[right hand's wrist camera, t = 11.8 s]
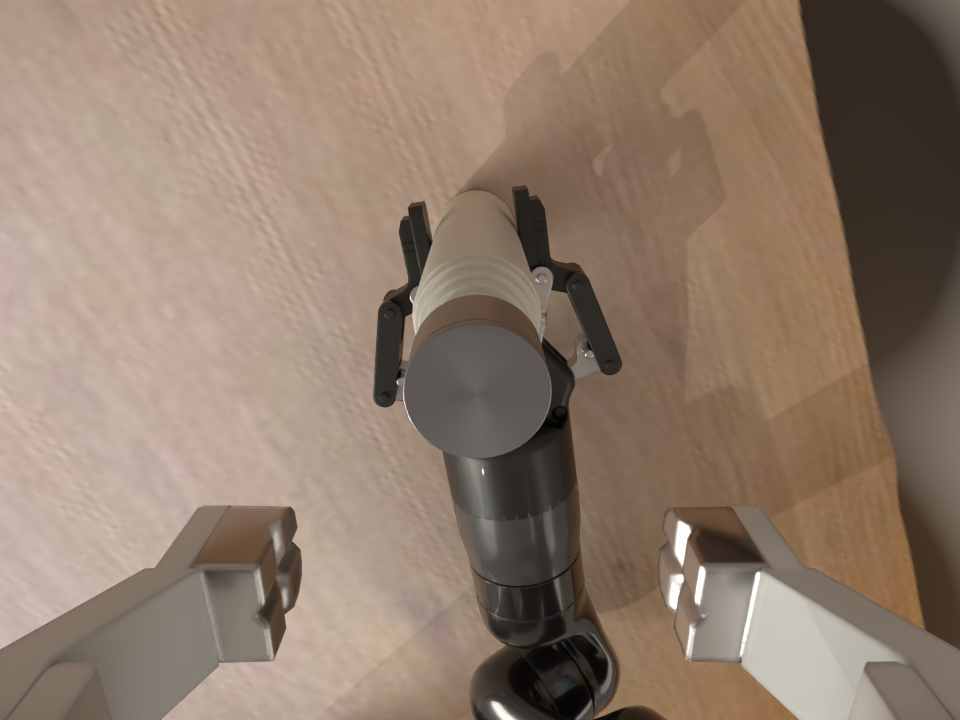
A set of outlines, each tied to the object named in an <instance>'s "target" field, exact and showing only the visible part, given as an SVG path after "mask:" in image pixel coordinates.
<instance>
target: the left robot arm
mask: <svg viewBox="0 0 960 720" xmlns="http://www.w3.org/2000/svg"><path fill="white" fill-rule="evenodd" d="M512 192H513V200H514V208H515V215H516V223H517V230H518V235H519V238H520V241H521V244H522V248H523V251H524V254H525V257H526V260H527V263H528V266H529V269H530V272H531V275H532V278H533V281H534V284H535V287H536V290H537V293H538V296H539V300H540V304H541V325H540V330H539V338H540V341H541V345H542V349H543V352H544V356H545V360H546V363H547V367H548V371H549V374H550V378H551V385H552V398H551V404H550V408H549V411H548V414H547V416H546V418H545V420H544V422H543V424H542V425H541V427H540V428H539V429H538V431H537V432H536V433H535V434H534V435H533V436H532V437H531V438H530V439H529V440H528V441H527V442H525V443H524V444H523V445H521V446H520V447H518V448H516V449H514V450H512V451H511V452H508V453H505V454H503V455H499V456H495V457H490V458H479V459H473V458H464V457H459V456H455V455H452V454H449V453H446V452H444V451H443V456H444V461H445V466H446V471H447V475H448V480H449V485H450V490H451V495H452V500H453V504H454V509H455V514H456V518H457V523H458V528H459V532H460V535H461V538H462V541H463V543H464V546H465V548H466V551H467V554H468V557H469V562H470V567H471V572H472V577H473V581H474V586H475V591H476V595H477V601H478V605H479V609H480V613H481V616H482V619H483V621H484V623H485V625H486V627H487V629H488V630H489V632H490V633H491V634H492V635H493V636H494V637H495V638H496V639H497V640H499V641H500V642H502V643H504V644H506V646H504V647H503V648H501V649H500V650H498V651H497V652H495V653H494V654H492V655H491V656H490V657H488V658H487V659H486V660H485V661H483V662H482V663H481V664H480V665H479V666H478V668H477V669H476V671H475V672H474V674H473V677H472V680H471V684H470V693H469V695H470V706H471V710H472V714H473V717H474V720H592V719H593V720H667V719H666V718H664V717H663V716H662V715H660V714H659V713H657V712H656V711H654V710H653V709H651V708H648V707H646V706H641V705H633V706H629V707H625V708H622V709H619V710H616V711H614V712H612V713H609V714H607V715H605V716H602V717H600V718H596V719H594V718H595V717H596V716H597V715H599V714H600V713H601V712H602V711H603V710H604V709H606V708H607V707H608V705H609V704H610V703H611V702H612V700H613V698H614V697H615V694H616V692H617V688H618V685H619V681H620V665H619V660H618V657H617V655H616V652H615V650H614V648H613V646H612V644H611V642H610V640H609V639H608V637H607V635H606V633H605V631H604V629H603V627H602V625H601V623H600V621H599V618H598V616H597V614H596V611H595V609H594V607H593V604H592V602H591V600H590V597H589V595H588V593H587V590H586V587H585V582H584V571H583V563H582V554H581V546H580V502H579V494H578V483H577V476H576V467H575V459H574V450H573V441H572V433H571V424H570V415H569V398H570V395H571V393H572V391H573V389H574V386H575V381H576V380H579V379H581V378H584V377H586V376H589V375H591V374H593V373H596V372H598V371H601V372H602V373H604V374H606V375H614V374H616V373H617V372H619V371H620V369H621V367H622V361H621V358H620V356H619V353H618V351H617V348H616V346H615V343H614V341H613V338H612V336H611V334H610V331H609V329H608V326H607V324H606V321H605V319H604V316H603V314H602V311H601V309H600V306H599V304H598V301H597V299H596V296H595V294H594V291H593V289H592V286H591V284H590V281H589V279H588V278H587V276H586V275H585V273H584V271H583V270H582V268H581V267H580V266H579V265H578V264H576V263H568V264H567V263H561V262H557V261H555V260H553V259H552V258H551V257H550V251H549V242H548V234H547V225H546V216H545V209H544V207H543V205H542V203H541V201H540V200H539V198H538V197H537V195H536V196H530V197H529V193H528V188H527V187H526V185H523V186H517V187H512ZM408 212H409V216H404V217H403V219H402V220H401V223H400V229H399V235H400V240H401V244H402V249H403V254H404V259H405V264H406V269H407V273H408V279H409V282H408V283H407V284H406V285H404V286H402V287H401V288H399V289H397V290H391V291H389V292H388V293H387V294H386V295H385V297H384V301H383V303H382V304H381V306H380V308H379V311H378V324H377V341H376V358H375V375H374V392H373V399H374V401H375V403H376V404H377V405H379V406H381V407H389V406H391V405H392V404H393V403H394V402H395V400H398V401H404V400H403V382H404V377H405V373H406V369H407V365H408V361H404V360H402V354H403V340H404V327H405V317H406V316H408V315H410V314H411V313H413V304H414V299H415V296H416V293H417V290H418V286H419V283H420V280H421V277H422V274H423V271H424V268H425V264H426V261H427V258H428V255H429V252H430V249H431V245H432V242H433V240H432V235H431V230H430V224H429V219H428V214H427V208H426V204H425V201H422V202H416V203H411V204H410V206H409V207H408ZM551 290H554V291H560V292H565V293H567V294H568V296H569V298H570V301H571V303H572V306H573V308H574V310H575V313H576V315H577V318H578V320H579V322H580V325H581V327H582V329H583V332H584V333H583V334H580V335H579V336H577V337H576V339H575V341H574V348H575V353H574V355H573V357H572V358H571V359H570V360H568V361H567V360H566V359H565V358H564V357H563V356H562V355H561V354H560V353H559V352H558V351H557V350H556V349H555V348H554V347H553V346H552V345H551V344H550V343H549V342H548V341H547V340H546V339H544V338H543V334H544V329H545V324H546V314H547V307H548V302H549V298H550V293H551Z"/></svg>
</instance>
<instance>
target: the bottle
mask: <svg viewBox="0 0 960 720" xmlns="http://www.w3.org/2000/svg"><path fill="white" fill-rule="evenodd" d="M467 295H488V296H493V297H497V298H500V299H502V300H505V301H507V302H509V303H511V304H513V305H514V306H516V307H517V308H519V309H520V310H521V311H522V312H523V313H524V314H525V315H526V316H527V317H528V318H529V319H530V320H531V322H532V323H533V325H534V327H535V328H536V330H537V333H538V335H539V330H540V325H541V304H540V300H539V296H538V293H537V290H536V287H535V284H534V281H533V278H532V275H531V272H530V269H529V266H528V263H527V260H526V257H525V254H524V251H523V248H522V244H521V241H520V238H519V235H518V232H517V229H516V226H515V223H514V220H513V217H512V214H511V212H510V210H509V208H508V207H507V205H506V204H505V203H504V202H503V201H502V200H501V199H500V198H499V197H497V196H496V195H494V194H492V193H489V192H486V191H481V190H472V191H467V192H464V193H461V194H459V195H457V196H456V197H454V198H453V199H452V200H451V201H450V202H449V203H448V204H447V205H446V207H445V208H444V210H443V212H442V214H441V217H440V220H439V223H438V226H437V230H436V233H435V236H434V239H433V242H432V245H431V249H430V252H429V255H428V258H427V261H426V264H425V268H424V271H423V274H422V277H421V280H420V283H419V286H418V290H417V293H416V296H415V299H414V304H413V313H412V316H413V325H414V330H415V335H416V333H417V331H418V329H419V327H420V325H421V324H422V322H423V321H424V320H425V318H426V317H427V316H428V315H429V314H430V313H431V312H432V311H433V310H435V309H436V308H437V307H438V306H440V305H442V304H444V303H445V302H447V301H450V300H452V299H454V298H458V297H461V296H467Z"/></svg>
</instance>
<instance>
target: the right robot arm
mask: <svg viewBox="0 0 960 720" xmlns="http://www.w3.org/2000/svg"><path fill="white" fill-rule="evenodd" d="M296 530H297V522H296V516H295V511H294V510H293V509H292V508H291V507H276V506H202V507H200V508H198V509H197V510H196V511H195V512H194V514H193V515H192V517H191V518H190V519H189V521H188V522H187V524H186V525H185V526H184V528H183V529H182V531H181V532H180V533H179V535H178V536H177V538H176V539H175V540H174V542H173V543H172V545H171V546H170V547H169V549H168V550H167V552H166V553H165V554H164V556H163V557H162V559H161V560H160V561H159V563H158V564H157V565H156V567H155V568H147V569H143V570H141V571H140V572H138V573H136V574H134V575H133V576H131V577H129V578H127V579H125V580H124V581H122V582H120V583H118V584H117V585H115V586H113V587H111V588H109V589H108V590H106V591H104V592H102V593H100V594H99V595H97V596H95V597H93V598H92V599H90V600H88V601H86V602H84V603H83V604H81V605H79V606H77V607H75V608H74V609H72V610H70V611H68V612H67V613H65V614H63V615H61V616H59V617H58V618H56V619H54V620H52V621H50V622H49V623H47V624H45V625H43V626H42V627H40V628H38V629H36V630H34V631H33V632H31V633H29V634H27V635H25V636H24V637H22V638H20V639H18V640H17V641H15V642H13V643H11V644H9V645H8V646H6V647H4V648H2V649H1V650H0V720H161V719H162V718H163V717H164V716H165V715H166V714H168V713H169V712H170V711H171V710H172V709H173V708H174V707H175V706H176V705H177V704H178V703H179V702H180V701H182V700H183V699H184V698H185V697H186V696H187V695H188V694H189V693H190V692H191V691H192V690H193V689H194V688H196V687H197V686H198V685H199V684H200V683H201V682H202V681H203V680H204V679H205V678H206V677H207V676H208V675H209V674H211V673H212V672H213V671H214V670H215V669H216V668H217V667H218V666H219V664H218V663H227V662H262V661H274V659H275V656H276V654H277V651H278V648H279V646H280V643H281V640H282V638H283V635H284V633H285V630H286V623H285V615H284V614H286V613H287V612H288V611H289V610H291V609H292V608H293V607H294V606H295V603H296V600H297V597H298V594H299V589H300V583H301V577H302V559H301V551H300V549H299V548H298V547H297V546H296V545H295V544H294V543H293V542H292V540H293V537H294V535H295V533H296ZM663 530H664V533H665V535H666V537H667V540H668V542H667V543H666V544H665V545H664V546H663V547H662V548H661V549H660V551H659V561H658V574H659V585H660V590H661V594H662V597H663V600H664V603H665V606H666V607H667V608H668V609H669V610H671V611H672V612H673V613H674V614H676V616H675V623H674V630H675V632H676V635H677V638H678V640H679V643H680V646H681V648H682V651H683V653H684V656H685V659H686V661H696V662H732V663H741V666H742V667H743V668H744V669H745V670H747V671H748V672H749V673H750V674H751V675H752V676H753V677H754V678H755V679H756V680H757V681H758V682H759V683H760V684H762V685H763V686H764V687H765V688H766V689H767V690H768V691H769V692H770V693H771V694H772V695H773V696H774V697H775V698H777V699H778V700H779V701H780V702H781V703H782V704H783V705H784V706H785V707H786V708H787V709H788V710H789V711H791V712H792V713H793V714H794V715H795V716H796V717H797V718H798V719H799V720H960V650H959V649H957V648H955V647H954V646H952V645H950V644H948V643H947V642H945V641H943V640H941V639H939V638H938V637H936V636H934V635H932V634H931V633H929V632H927V631H925V630H923V629H922V628H920V627H918V626H916V625H915V624H913V623H911V622H909V621H907V620H906V619H904V618H902V617H900V616H899V615H897V614H895V613H893V612H891V611H890V610H888V609H886V608H884V607H883V606H881V605H879V604H877V603H875V602H874V601H872V600H870V599H868V598H867V597H865V596H863V595H861V594H859V593H858V592H856V591H854V590H852V589H851V588H849V587H847V586H845V585H843V584H842V583H840V582H838V581H836V580H835V579H833V578H831V577H829V576H827V575H826V574H824V573H822V572H820V571H819V570H817V569H814V568H805V567H804V566H803V564H802V563H801V561H800V560H799V559H798V557H797V556H796V554H795V553H794V552H793V550H792V549H791V548H790V546H789V545H788V543H787V542H786V541H785V539H784V538H783V536H782V535H781V534H780V532H779V531H778V530H777V528H776V527H775V525H774V524H773V523H772V521H771V520H770V518H769V517H768V516H767V514H766V513H765V511H764V510H763V509H762V508H761V507H759V506H757V505H744V506H727V507H671V508H667V510H666V512H665V515H664V521H663Z"/></svg>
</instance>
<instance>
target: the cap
mask: <svg viewBox="0 0 960 720" xmlns="http://www.w3.org/2000/svg"><path fill="white" fill-rule="evenodd" d="M551 398H552V385H551V378H550V374H549V371H548V367H547V363H546V360H545V356H544V352H543V349H542V345H541V341H540V338H539V335H538V333H537V330H536V328H535V327H534V325H533V323H532V322H531V320H530V319H529V318H528V317H527V316H526V315H525V314H524V313H523V312H522V311H521V310H520V309H519V308H517V307H516V306H514V305H513V304H511V303H509V302H507V301H505V300H502V299H500V298H497V297H493V296H488V295H467V296H461V297H458V298H454V299H452V300H450V301H447V302H445V303H444V304H442V305H440V306H438V307H437V308H436V309H435V310H433V311H432V312H431V313H430V314H429V315H428V316H427V317H426V318H425V320H424V321H423V322H422V324H421V325H420V327H419V329H418V331H417V333H416V336H415V339H414V342H413V346H412V350H411V354H410V358H409V361H408V365H407V369H406V373H405V377H404V382H403V400H404V405H405V409H406V412H407V414H408V417H409V419H410V421H411V422H412V424H413V426H414V427H415V428H416V430H417V431H418V432H419V433H420V435H421V436H422V437H423V438H424V439H426V440H427V441H428V442H429V443H430V444H432V445H433V446H435V447H437V448H438V449H440V450H442V451H444V452H446V453H449V454H452V455H455V456H459V457H464V458H473V459H479V458H490V457H495V456H499V455H503V454H505V453H508V452H511V451H512V450H514V449H516V448H518V447H520V446H521V445H523V444H524V443H525V442H527V441H528V440H529V439H530V438H531V437H532V436H533V435H534V434H535V433H536V432H537V431H538V429H539V428H540V427H541V425H542V424H543V422H544V420H545V418H546V416H547V414H548V411H549V408H550V404H551Z"/></svg>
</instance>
